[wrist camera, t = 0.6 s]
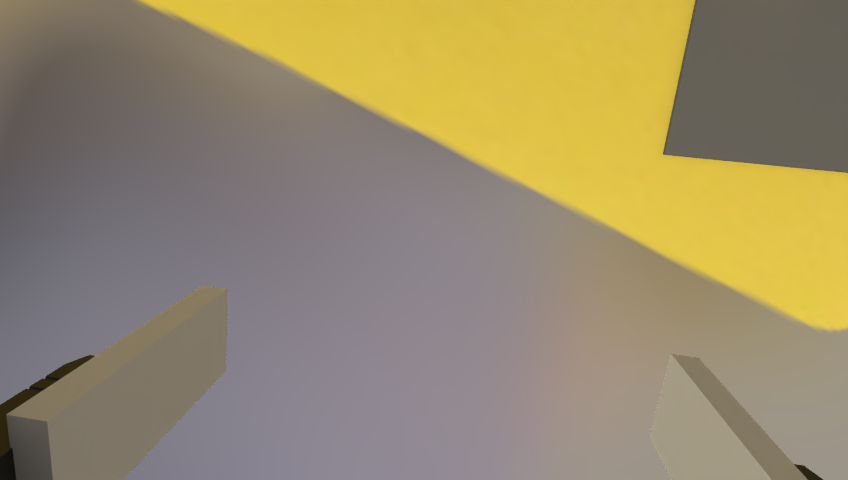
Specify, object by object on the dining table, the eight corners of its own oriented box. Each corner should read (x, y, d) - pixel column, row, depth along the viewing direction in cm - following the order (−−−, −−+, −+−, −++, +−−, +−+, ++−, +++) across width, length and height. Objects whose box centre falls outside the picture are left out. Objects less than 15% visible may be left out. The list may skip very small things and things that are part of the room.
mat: (733, -181, 32) (736, -184, 31) (1040, -164, 31) (1047, -168, 30) (662, 154, 37) (664, 154, 37) (921, 179, 36) (926, 180, 36)
